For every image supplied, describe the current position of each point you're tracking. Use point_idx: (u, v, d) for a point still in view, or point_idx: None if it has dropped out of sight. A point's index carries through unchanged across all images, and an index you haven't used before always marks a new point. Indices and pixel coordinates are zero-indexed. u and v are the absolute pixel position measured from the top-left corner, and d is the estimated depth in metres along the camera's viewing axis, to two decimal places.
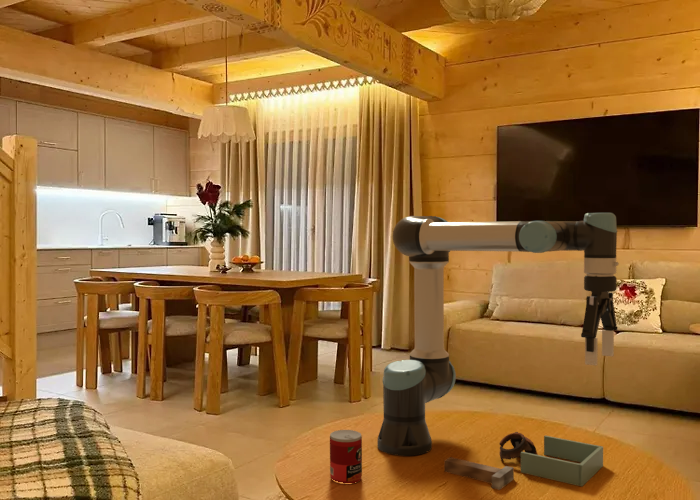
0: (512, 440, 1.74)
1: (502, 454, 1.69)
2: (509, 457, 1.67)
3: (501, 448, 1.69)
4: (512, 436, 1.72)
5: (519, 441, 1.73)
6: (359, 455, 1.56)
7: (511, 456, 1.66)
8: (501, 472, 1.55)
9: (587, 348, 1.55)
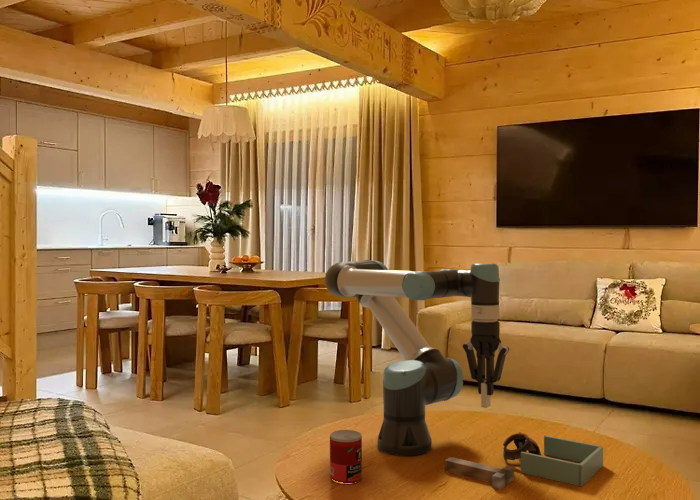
0: (515, 441, 1.73)
1: (506, 455, 1.68)
2: (513, 458, 1.66)
3: (505, 449, 1.68)
4: (516, 437, 1.71)
5: (522, 441, 1.73)
6: (359, 455, 1.56)
7: (515, 457, 1.66)
8: (502, 472, 1.55)
9: None
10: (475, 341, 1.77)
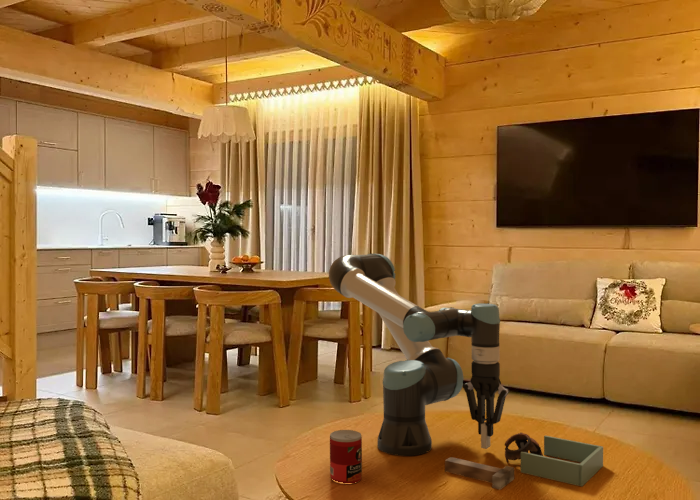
0: (517, 441, 1.73)
1: (507, 455, 1.68)
2: (515, 458, 1.66)
3: (506, 449, 1.68)
4: (517, 437, 1.71)
5: (524, 442, 1.73)
6: (359, 455, 1.56)
7: (517, 457, 1.66)
8: (502, 472, 1.55)
9: None
10: (475, 382, 1.77)
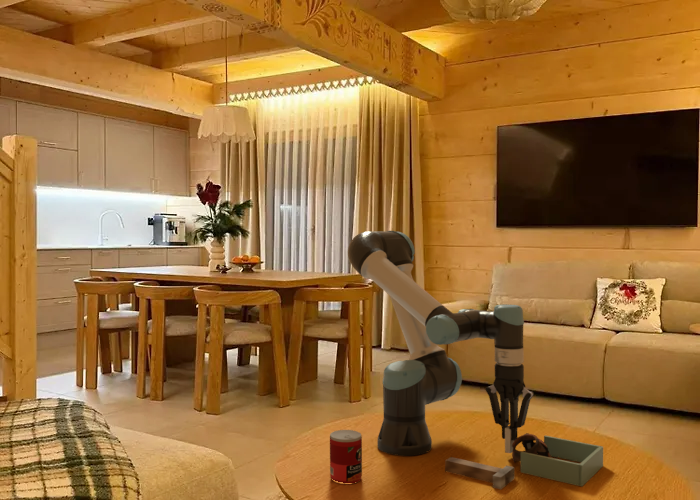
0: (524, 442, 1.72)
1: (515, 456, 1.67)
2: None
3: (514, 450, 1.67)
4: (524, 438, 1.70)
5: (531, 442, 1.72)
6: (359, 455, 1.56)
7: None
8: (502, 472, 1.55)
9: None
10: (498, 385, 1.73)
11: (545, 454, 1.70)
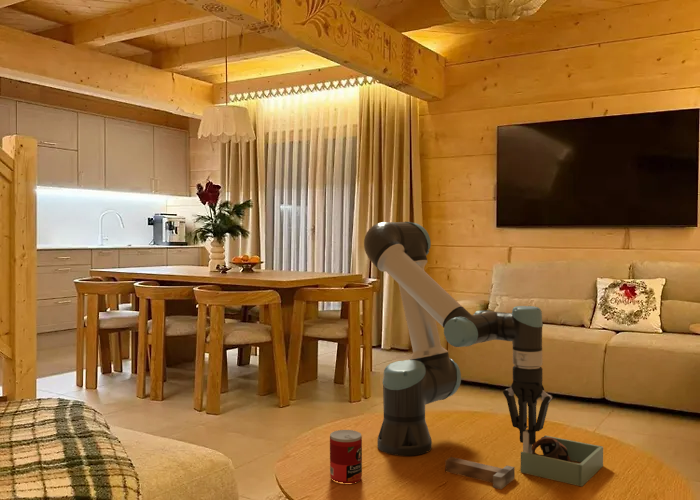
0: (542, 445, 1.69)
1: None
2: None
3: None
4: (543, 441, 1.67)
5: (549, 446, 1.69)
6: (359, 456, 1.56)
7: None
8: (502, 472, 1.55)
9: None
10: (516, 387, 1.70)
11: (564, 457, 1.67)
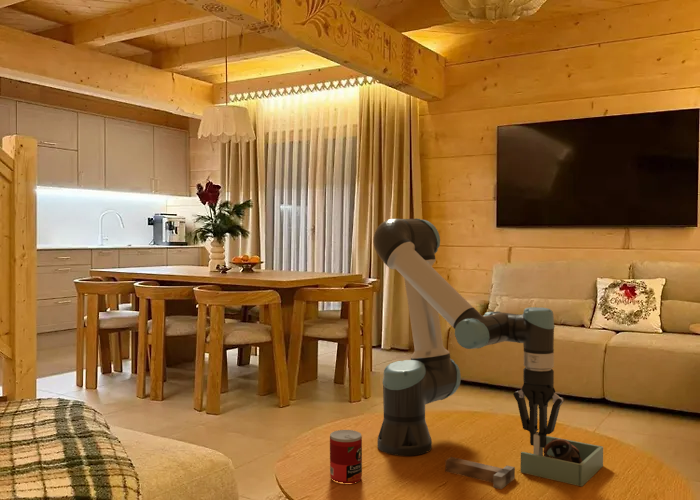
0: (553, 447, 1.68)
1: None
2: None
3: (547, 456, 1.62)
4: (555, 443, 1.66)
5: (560, 448, 1.68)
6: (359, 455, 1.56)
7: None
8: (502, 471, 1.55)
9: None
10: (527, 390, 1.68)
11: (576, 459, 1.66)
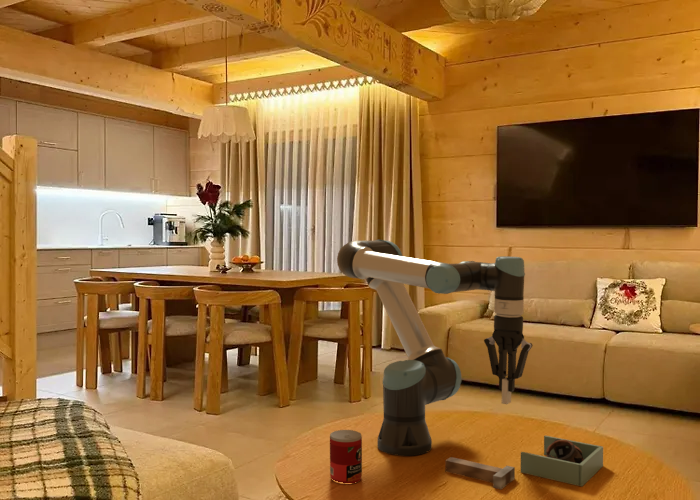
0: (556, 448, 1.67)
1: None
2: None
3: (550, 457, 1.62)
4: (558, 444, 1.66)
5: (563, 448, 1.68)
6: (359, 455, 1.56)
7: None
8: (502, 472, 1.55)
9: None
10: (497, 336, 1.73)
11: (578, 460, 1.66)
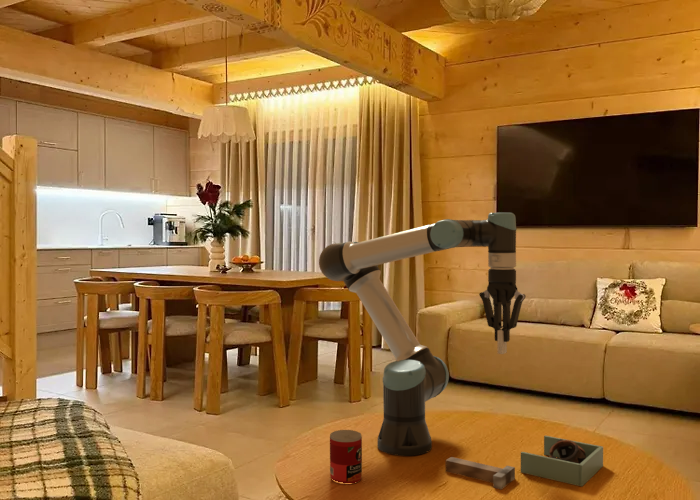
0: (559, 448, 1.67)
1: None
2: None
3: (554, 457, 1.62)
4: (561, 444, 1.65)
5: (566, 448, 1.67)
6: (359, 455, 1.56)
7: None
8: (502, 472, 1.55)
9: None
10: (492, 289, 1.80)
11: (581, 460, 1.66)
